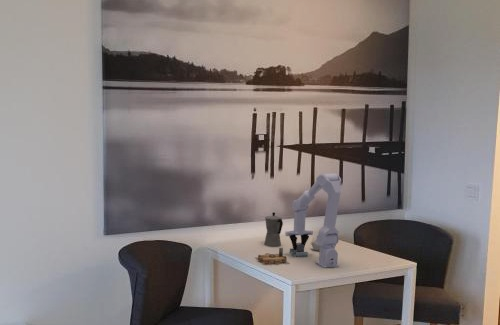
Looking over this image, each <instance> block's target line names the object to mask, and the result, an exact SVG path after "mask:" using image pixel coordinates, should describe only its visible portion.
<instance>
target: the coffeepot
mask: <svg viewBox="0 0 500 325" xmlns="http://www.w3.org/2000/svg"><path fill="white" fill-rule="evenodd" d="M264 220H265V228H266V233H265V234H266V235H265V240H264V246H266V247H270V248H271V247H272V248H273V247H276V248H277V247H280V246H282V244H281V243H282V242H281V236H280V234H281V232H282V229H283V226H284V222H283V218H282V217H281V216H278V215H276V212H272V215H267V216H266V217H264Z"/></svg>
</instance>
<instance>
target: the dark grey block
mask: <svg viewBox="0 0 500 325" xmlns="http://www.w3.org/2000/svg"><path fill="white" fill-rule="evenodd" d="M296 252H305V247H304V244H303V243H301V242H296V250H294V253H295V254H296Z"/></svg>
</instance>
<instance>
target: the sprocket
mask: <svg viewBox="0 0 500 325" xmlns="http://www.w3.org/2000/svg"><path fill="white" fill-rule="evenodd" d="M278 249H279V250H278V253H265V254H257V257H258V260H257V261H258V262H259V261H263V262H264V263H275V264H279V263H280V262H286V261H287V259H288V258H287V256H286V255H284V253H283V252H284V248H283V247H279V248H278Z"/></svg>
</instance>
